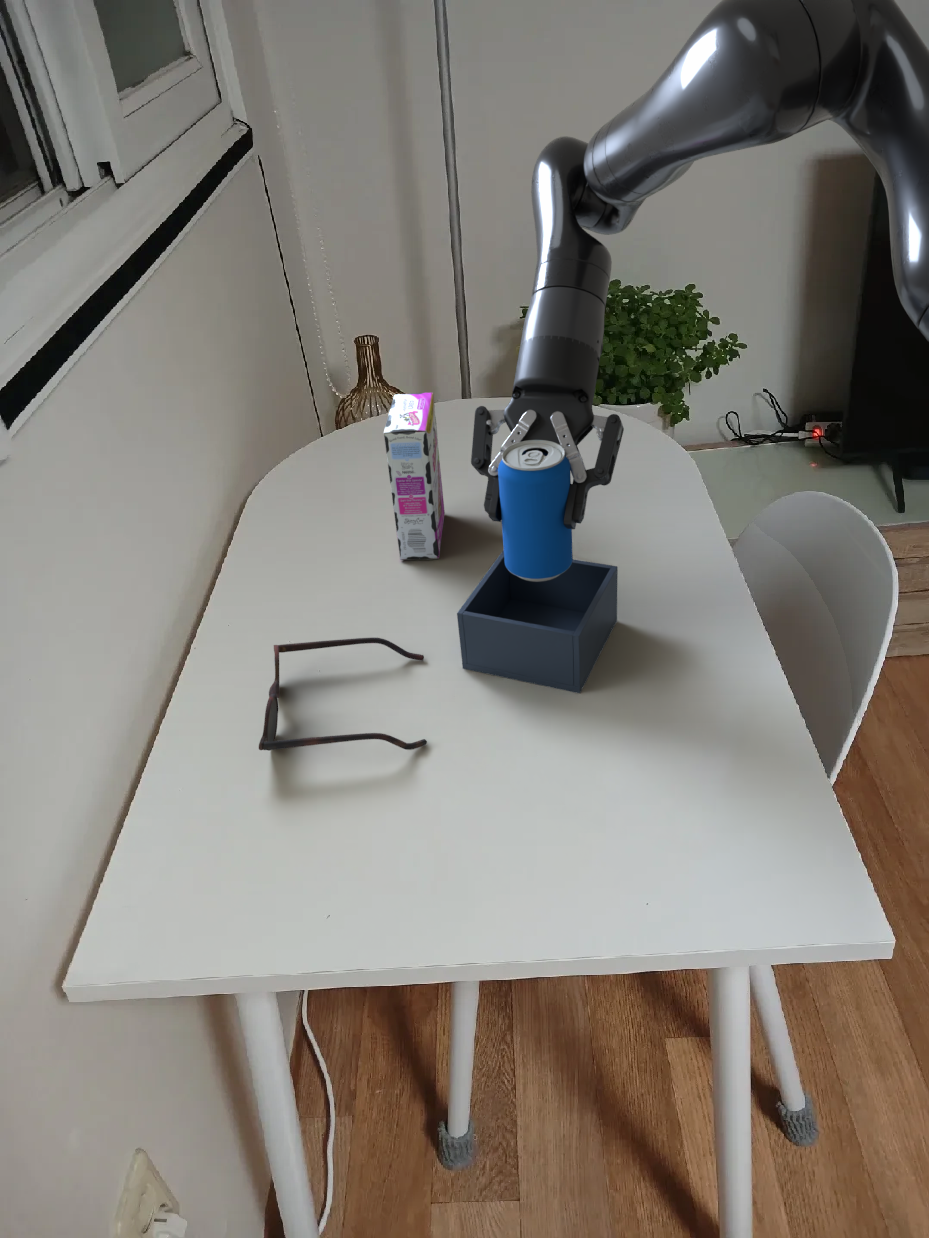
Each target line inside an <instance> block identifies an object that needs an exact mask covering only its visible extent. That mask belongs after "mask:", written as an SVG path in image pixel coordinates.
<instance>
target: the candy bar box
mask: <svg viewBox="0 0 929 1238" xmlns="http://www.w3.org/2000/svg"><path fill="white" fill-rule="evenodd" d="M434 395H435V394H434V392H414V393H413V392H411V393H399V394H398V393H397V394H394V395H393V397H392V401H391V405H390V408H389V411H388V412H389V413H388V416H387V418H386V422H385V425H384V430H383V437H384V445H385V453H386V461H387V468H388V475H389V483H390V492H391V497H392V498H391V500H392V506H393V507H392V508H393V514H394V515H393V516H394V521H395V531H396V537H397V545H398V553H399V560H400V561H423V560H428V561H429V560H438V559H439V558H440V554H441V544H442V536H443V529H444V522H445V521H444V519H445V513H446V512H445V502H444V493H443V483H442V473H441V462H440V461H441V460H440V452H439V442H438V441H439V440H438V427H437V417H436V409H435V407H436V406H435V397H434Z"/></svg>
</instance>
